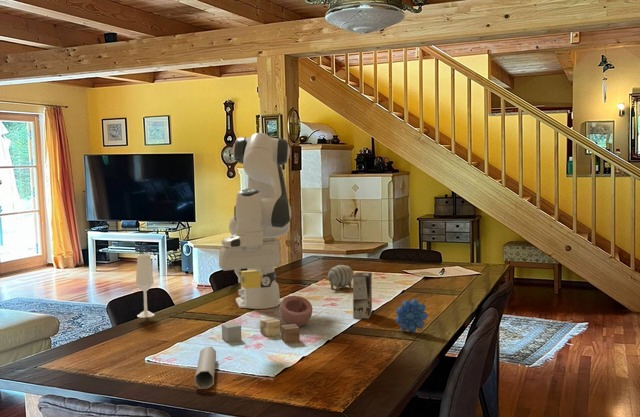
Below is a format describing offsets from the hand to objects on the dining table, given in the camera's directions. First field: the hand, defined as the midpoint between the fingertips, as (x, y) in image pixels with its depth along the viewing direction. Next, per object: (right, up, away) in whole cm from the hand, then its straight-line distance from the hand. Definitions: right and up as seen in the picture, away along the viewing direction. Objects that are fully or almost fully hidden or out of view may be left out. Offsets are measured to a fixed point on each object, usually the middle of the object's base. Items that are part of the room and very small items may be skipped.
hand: (250, 281), depth 207 cm
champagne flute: (-46, -18, +42) cm, 65 cm away
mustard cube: (0, -2, 0) cm, 2 cm away
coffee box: (+39, -18, +38) cm, 58 cm away
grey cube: (-7, -21, +8) cm, 23 cm away
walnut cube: (+13, -21, +6) cm, 25 cm away
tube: (-10, -24, -25) cm, 36 cm away
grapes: (+55, -20, +15) cm, 60 cm away
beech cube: (+5, -20, +14) cm, 25 cm away
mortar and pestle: (+14, -19, +24) cm, 34 cm away
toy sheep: (+32, -14, +88) cm, 94 cm away
